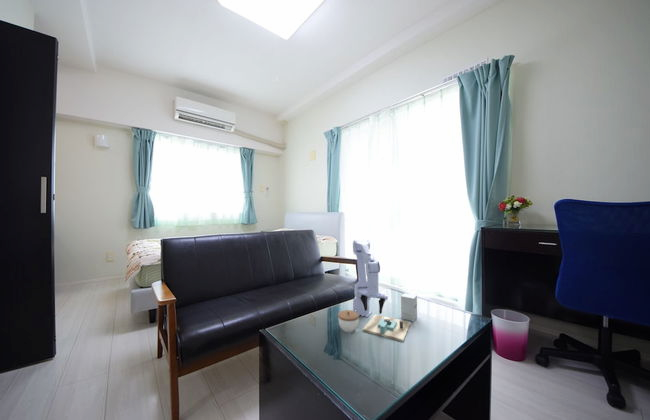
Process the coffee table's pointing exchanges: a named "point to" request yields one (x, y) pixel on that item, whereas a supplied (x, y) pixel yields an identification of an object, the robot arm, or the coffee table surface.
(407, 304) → the supplement box
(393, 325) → the angular block
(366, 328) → the board
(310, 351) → the coffee table surface
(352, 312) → the lidded jar
